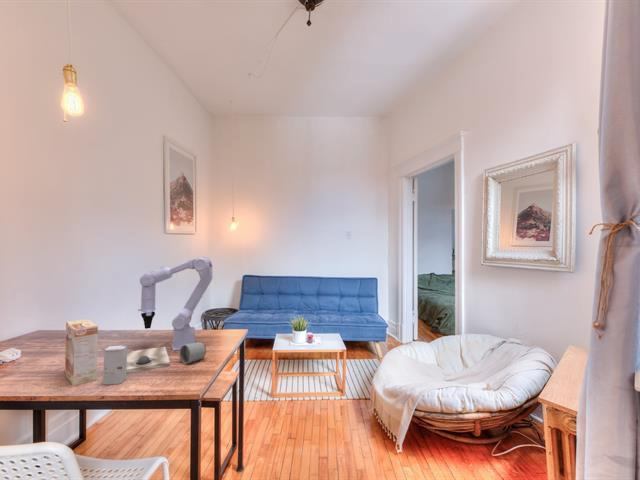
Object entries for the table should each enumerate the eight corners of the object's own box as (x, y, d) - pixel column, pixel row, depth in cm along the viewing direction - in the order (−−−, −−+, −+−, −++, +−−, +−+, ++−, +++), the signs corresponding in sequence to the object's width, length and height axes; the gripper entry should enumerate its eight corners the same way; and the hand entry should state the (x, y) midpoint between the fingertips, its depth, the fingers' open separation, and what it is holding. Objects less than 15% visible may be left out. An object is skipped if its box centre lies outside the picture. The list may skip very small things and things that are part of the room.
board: (165, 349, 140) (165, 346, 140) (169, 365, 121) (169, 362, 121) (118, 356, 130) (118, 353, 130) (115, 375, 112) (115, 371, 112)
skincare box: (101, 385, 104) (102, 350, 104) (107, 379, 108) (108, 345, 108) (122, 383, 105) (122, 348, 105) (127, 378, 109) (128, 344, 110)
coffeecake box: (63, 374, 112) (65, 321, 113) (87, 368, 118) (89, 318, 118) (71, 386, 103) (73, 329, 103) (97, 380, 108) (98, 325, 108)
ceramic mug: (207, 359, 128) (207, 341, 128) (189, 366, 121) (189, 346, 122) (192, 355, 134) (192, 337, 134) (174, 360, 127) (175, 342, 127)
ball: (149, 367, 122) (149, 358, 124) (149, 361, 119) (149, 352, 122) (137, 369, 120) (138, 360, 122) (137, 363, 117) (137, 354, 120)
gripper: (138, 297, 146) (137, 325, 146) (138, 302, 134) (137, 333, 133) (154, 296, 150) (154, 323, 149) (156, 301, 137) (156, 331, 137)
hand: (147, 328), depth 141 cm, fingers closed
